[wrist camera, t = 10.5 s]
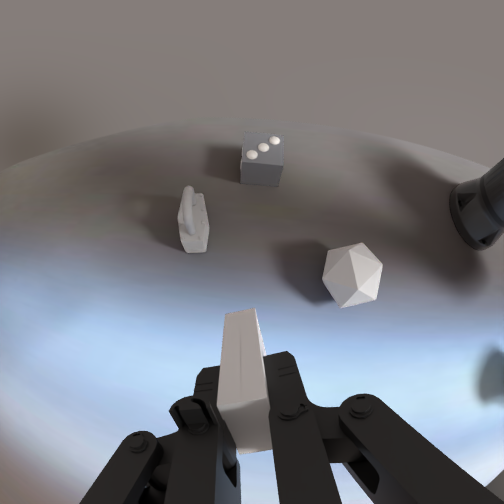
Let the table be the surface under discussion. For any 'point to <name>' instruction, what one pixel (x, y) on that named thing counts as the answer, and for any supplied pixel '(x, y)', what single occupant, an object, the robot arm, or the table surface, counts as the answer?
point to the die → (352, 275)
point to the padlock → (193, 221)
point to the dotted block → (262, 159)
